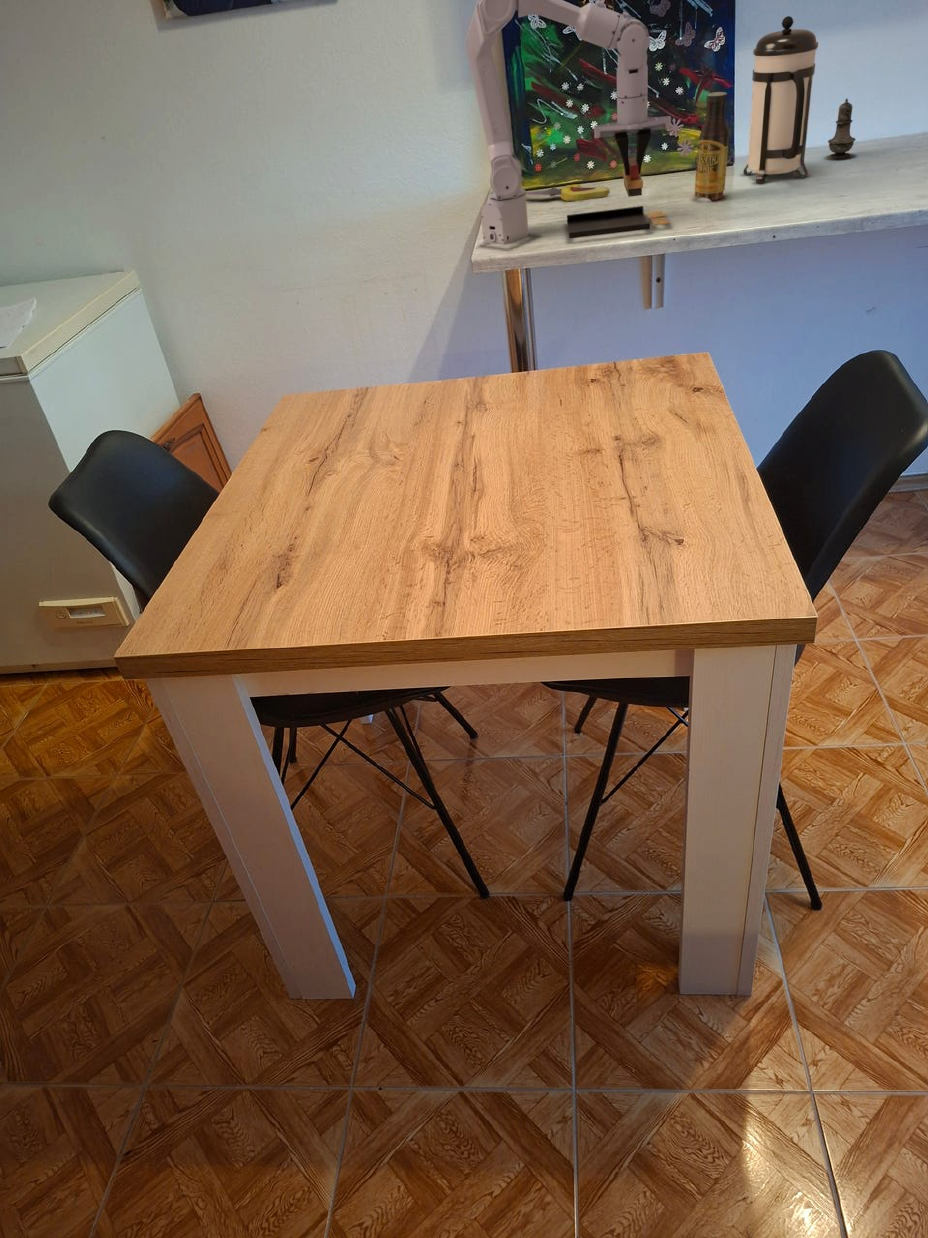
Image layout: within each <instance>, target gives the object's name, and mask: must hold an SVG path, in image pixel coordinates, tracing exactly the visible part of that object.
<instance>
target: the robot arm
mask: <svg viewBox="0 0 928 1238" xmlns="http://www.w3.org/2000/svg"><path fill="white" fill-rule="evenodd" d="M604 6H605V3H604V2H602V1H600V0H597V1H596V2H595V3H594V2H588V3H586V4H585V5H583V6H581V7H580V6H577V5H575V4H572V3H570V2H568V1H565V0H477V2H476V4H475V7H474V11H473V13H472V17H471V21H470V25H469V28H468V30H467V34H466V37H465V40H464V41H465V42H464V45H465V51H466V55H467V59H468V65H469V68H470V73H471V77H472V83H473V87H474V90H475V95H476V99H477V104H478V109H479V113H480V118H481V122H482V127H483V130H484V135H485V139H486V144H487V150H488V157H489V161H490V162H489V163H490V168H491V169H490V171H491V172H490V176H489V185H490V188H491V190H492V191H490V193H489V197H490V198H489V200H488V201H487V202H486V203H485V204H484V205H483V206H482V207H481V211H480V220H481V232H482V238H483V239H482V240H483V241H482V242H481V243H480V245H481V246H482V247H483V246H484V247H485V246H486V243H488V244H495V245H502V246H503V245H504V246H505V245H508V244H510V243H512V242H515V241H518V240H521V239H524V238H526V237H528V236H529V234H530V233H529V222H528V221H529V220H528V209H527V197H526V194H525V192H526V189H525V188H524V187H523V186H522V183H523V182H522V181H523V178H522V176H523V175H522V174H523V166H522V163H521V161H520V160H519V159H518V157H517V156H516V154H515V151H514V148H513V144H512V141H511V137H510V136H511V135H510V131H509V126H508V122H507V117H506V113H505V108H504V107H505V106H504V103H503V99H502V93H501V89H500V88H501V87H500V84H499V79H498V75H497V70H496V66H495V60H494V55H493V50H492V47H493V45H494V43H495V41H496V39H497V37H498V35H499V33H500V31H502V30H503V28H505V26H506V25H508V23H509V22H510V21H511V20H512V19H513V17H514V15H515V12H516V11H517V15H518V16H517V17H518V18H522V17H526V16H527V17H528V16H530V15H536V16H537V15H538V16H539V17H543V18H546V19H549V20H552V21H554V22H558V23H561V24H564V25H566V26H570V27H572V28H574V29H575V32H576V35H577V37H578V39H579V40H582V41H584V42H588V43H590V44H592V45H596V46H598V47H600V48H603V49H606V50H609V51H612V50H615V49H616V50H617V68H616V121H613V122H607V123H603V124H597V125H594V126H593V129H594V131H593V133H594V135H593V136H594V139H601V138H603V137H611V136H613V138H614V140H615V142H616V144H617V147H618V150H619V153H620V156H621V159H622V164H623V171H625V175H626V176H627V175H629V160H628V158H629V145H630V144H629V143H630V142H629V141H630V140H629V135H628V134H635V137H636V142H635V143H636V157H635V159H636V161H637V163H638V165H639V174H640V175H641V174H642V172H641V171H642V165H643V161H644V157H645V154H646V151H647V149H648V146H649V143H650V141H651V138H652V131H658V130H671V129H672V117H671V115H667V116H654V117H653V116H652V117H648V93H649V92H648V90H649V89H648V86H649V85H648V84H649V83H648V81H649V80H648V76H649V75H648V74H649V73H648V72H649V67H648V63H647V62H648V53H647V51H648V49H649V46H650V43H651V37H650V34H649V29H648V28H647V26H646V24H644V23H643V22H642V21H640V20H639V19H636V17H634V16H631V17H629V16H630V15H629V13H628V12H626V11H623V12H622V13H620V12H617V11H614V10H611V9H609V8H607V7H604Z"/></svg>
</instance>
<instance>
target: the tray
mask: <svg viewBox="0 0 928 1238" xmlns="http://www.w3.org/2000/svg"><path fill="white" fill-rule="evenodd" d="M566 223H567V230H568V238H569V239H577V238H584V237H585V238H586V237H593V236H603V235H609V234H610V235H611V234H619V233H628V232H636V231H644V230H650V229H651V223H650V222H648V221H647V217H646V215H645V212H644V205H639V206H631V207H623V208H615V209H605V210H597V211H590V212H589V211H588V212H581V213H573V214H567V215H566Z"/></svg>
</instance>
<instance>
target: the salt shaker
mask: <svg viewBox="0 0 928 1238" xmlns="http://www.w3.org/2000/svg"><path fill="white" fill-rule="evenodd" d="M844 101H845V102H843V103H841V104H840V105H839V107H838V114H837V120H836V121H835V124H836V128H835V134H834V136H833V137H832V138H830V139H829V140H828V141H827V143H828V147H829V150H830V152H832V153H831V154H830V155H828V156H827V160H831V161H843V160H848V159H851V158H852V157H853V155H852V154H851V153H849V151H850V150H851V149H852V148H853V146H854V144H855V143H854V142H855V141H856V138H855V137H852V136H851V124H852V123H853V119H852V113H853V104H852V103H850V102H848V101H849V99H848V97H846V99H845V100H844Z"/></svg>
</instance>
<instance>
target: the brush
mask: <svg viewBox="0 0 928 1238" xmlns="http://www.w3.org/2000/svg"><path fill="white" fill-rule="evenodd" d="M628 160H629V175H627V176H626V175H625V170H622V178H623V186H624V189H625V191H626V193H627V197H629V198H631V197H639V196H642V195H643V189H644V181H643V178H642V176H641V174H639V165H638V163H637V161H636V157H628Z"/></svg>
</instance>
